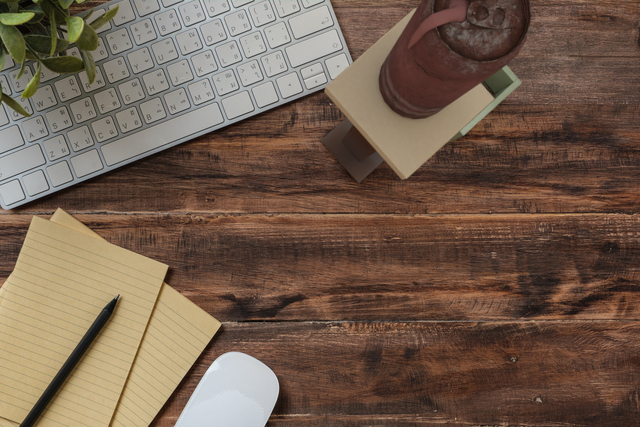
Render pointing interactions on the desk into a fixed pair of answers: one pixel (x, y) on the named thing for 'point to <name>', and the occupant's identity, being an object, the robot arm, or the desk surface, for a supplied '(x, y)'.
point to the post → (352, 150)
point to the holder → (501, 86)
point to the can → (451, 52)
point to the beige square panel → (389, 127)
